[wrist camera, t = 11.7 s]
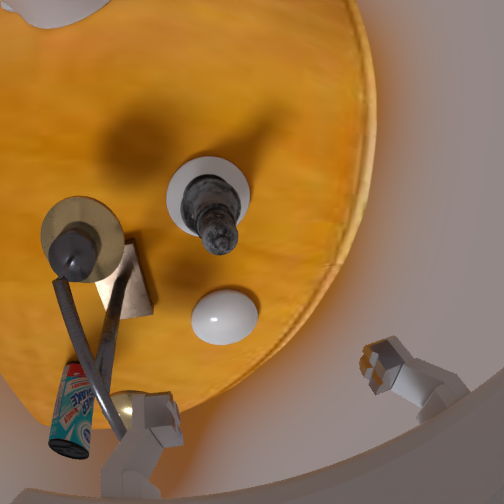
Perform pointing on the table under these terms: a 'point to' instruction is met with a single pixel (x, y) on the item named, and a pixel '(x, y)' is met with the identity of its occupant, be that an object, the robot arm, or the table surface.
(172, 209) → the dish low side
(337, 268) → the table surface
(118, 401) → the balance
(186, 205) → the chess piece
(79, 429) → the beverage can
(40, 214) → the table surface
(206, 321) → the dish high side
